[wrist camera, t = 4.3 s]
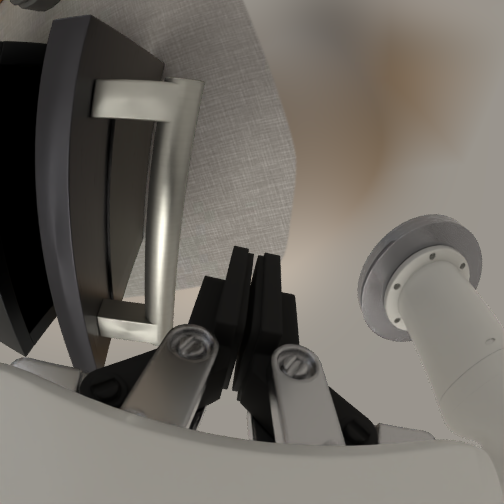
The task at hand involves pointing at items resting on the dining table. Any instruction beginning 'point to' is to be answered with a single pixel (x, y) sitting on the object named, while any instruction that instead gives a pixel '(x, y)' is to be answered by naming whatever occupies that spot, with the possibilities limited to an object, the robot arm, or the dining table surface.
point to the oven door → (109, 183)
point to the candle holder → (35, 4)
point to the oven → (21, 201)
